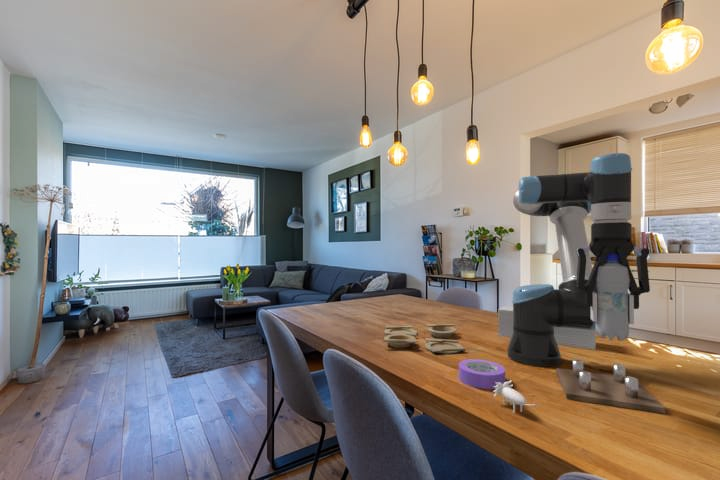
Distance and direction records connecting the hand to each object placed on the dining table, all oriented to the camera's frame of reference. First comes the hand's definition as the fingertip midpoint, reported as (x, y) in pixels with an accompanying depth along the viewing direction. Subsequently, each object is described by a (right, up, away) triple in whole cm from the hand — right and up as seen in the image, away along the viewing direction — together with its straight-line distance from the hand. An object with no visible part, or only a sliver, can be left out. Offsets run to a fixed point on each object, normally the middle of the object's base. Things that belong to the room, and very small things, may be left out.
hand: (611, 321), depth 78 cm
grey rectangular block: (+13, -20, +52) cm, 57 cm away
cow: (-25, -18, -5) cm, 31 cm away
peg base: (+2, -18, +5) cm, 19 cm away
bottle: (0, -4, 0) cm, 4 cm away
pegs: (+2, -17, +5) cm, 18 cm away
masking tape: (-26, -19, +12) cm, 34 cm away
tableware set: (-35, -20, +51) cm, 65 cm away
